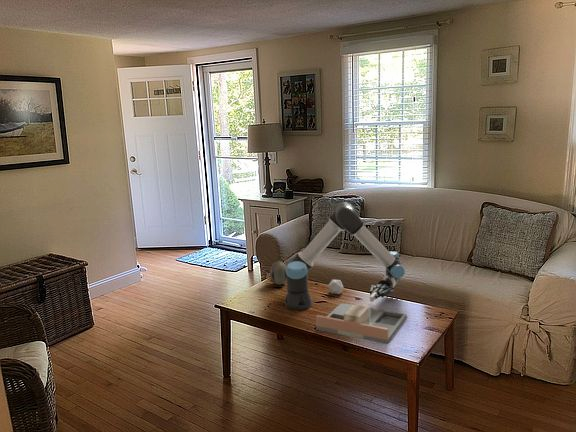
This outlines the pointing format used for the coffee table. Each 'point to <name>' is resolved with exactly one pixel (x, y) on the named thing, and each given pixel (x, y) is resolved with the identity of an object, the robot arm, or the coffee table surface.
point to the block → (357, 314)
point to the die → (335, 286)
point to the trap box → (376, 330)
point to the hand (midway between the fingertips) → (371, 299)
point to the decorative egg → (278, 273)
